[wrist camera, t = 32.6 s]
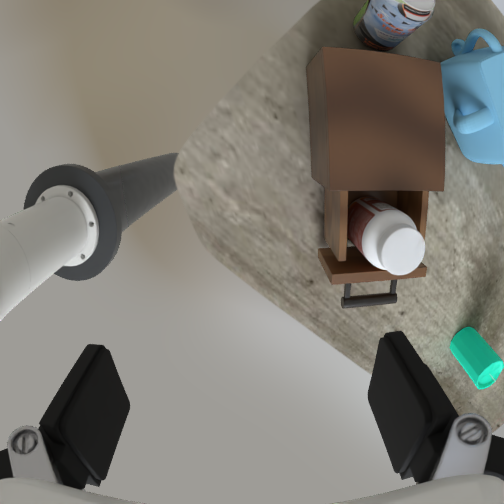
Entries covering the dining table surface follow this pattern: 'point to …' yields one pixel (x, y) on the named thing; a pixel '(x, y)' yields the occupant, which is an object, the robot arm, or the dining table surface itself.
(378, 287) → the dining table surface
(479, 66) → the teapot
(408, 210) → the drawer
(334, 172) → the cabinet
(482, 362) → the candle
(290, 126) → the dining table surface
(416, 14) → the beverage can
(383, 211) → the pill bottle
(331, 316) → the dining table surface
